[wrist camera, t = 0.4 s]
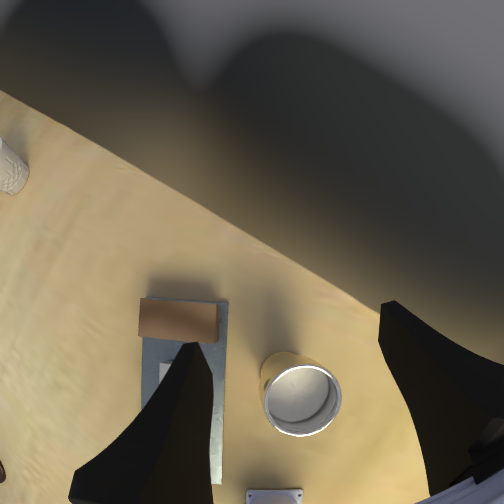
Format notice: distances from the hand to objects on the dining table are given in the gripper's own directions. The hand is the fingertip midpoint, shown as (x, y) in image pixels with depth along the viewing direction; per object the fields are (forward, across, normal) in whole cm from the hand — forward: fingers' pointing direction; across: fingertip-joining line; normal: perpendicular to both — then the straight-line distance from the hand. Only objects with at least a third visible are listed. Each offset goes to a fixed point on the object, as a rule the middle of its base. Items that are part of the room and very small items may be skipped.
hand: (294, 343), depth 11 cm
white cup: (+39, +44, -9) cm, 59 cm away
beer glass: (+17, +1, +23) cm, 29 cm away
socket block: (+22, +12, +15) cm, 30 cm away
